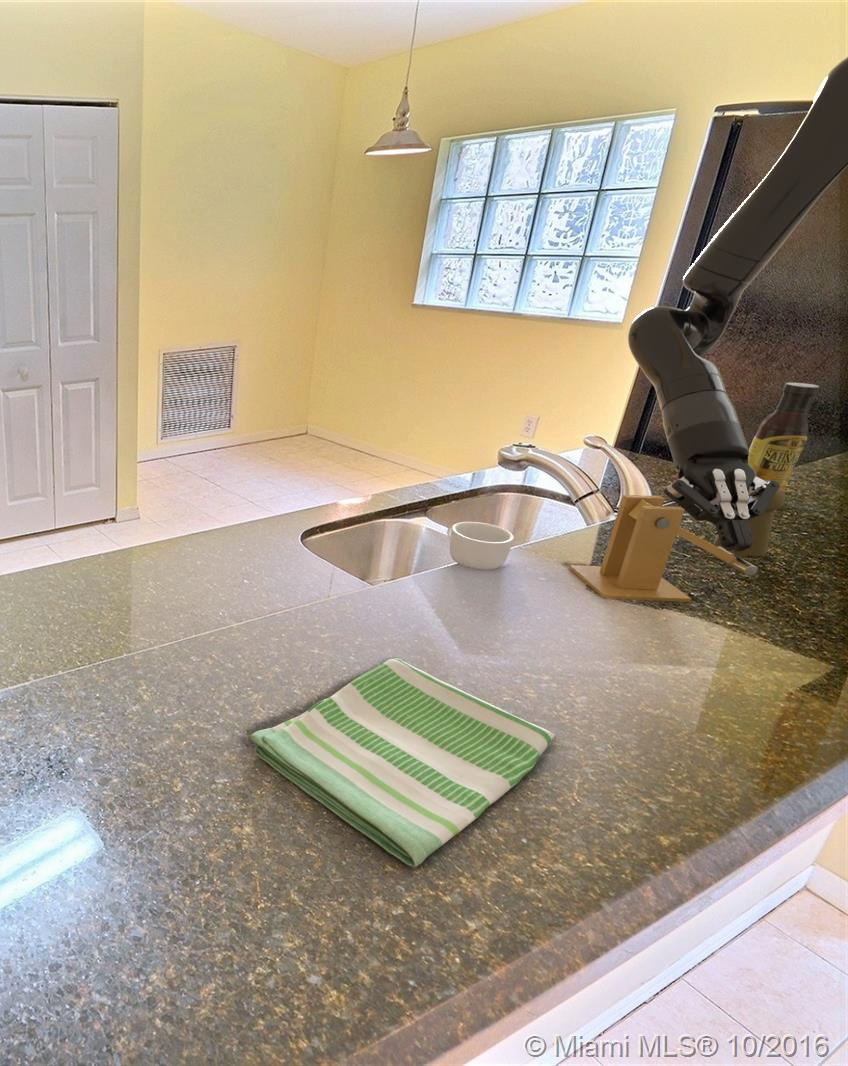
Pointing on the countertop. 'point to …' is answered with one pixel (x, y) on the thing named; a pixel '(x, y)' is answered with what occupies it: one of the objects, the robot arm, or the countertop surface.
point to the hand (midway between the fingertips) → (739, 549)
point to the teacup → (479, 545)
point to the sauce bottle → (782, 435)
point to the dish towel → (404, 756)
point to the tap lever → (708, 546)
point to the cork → (760, 528)
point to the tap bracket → (637, 553)
